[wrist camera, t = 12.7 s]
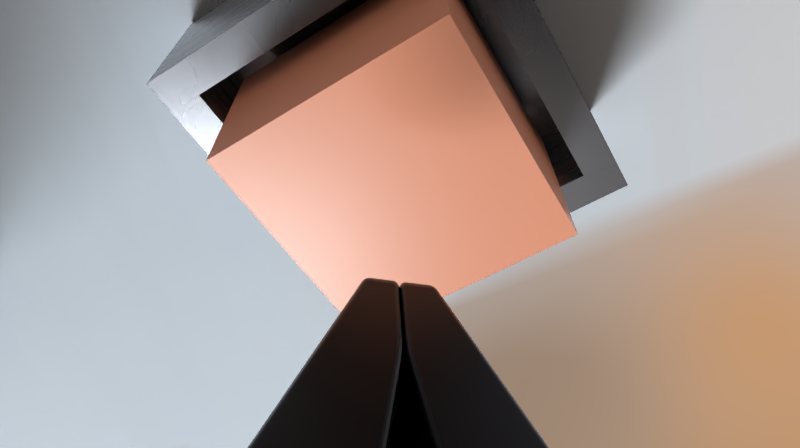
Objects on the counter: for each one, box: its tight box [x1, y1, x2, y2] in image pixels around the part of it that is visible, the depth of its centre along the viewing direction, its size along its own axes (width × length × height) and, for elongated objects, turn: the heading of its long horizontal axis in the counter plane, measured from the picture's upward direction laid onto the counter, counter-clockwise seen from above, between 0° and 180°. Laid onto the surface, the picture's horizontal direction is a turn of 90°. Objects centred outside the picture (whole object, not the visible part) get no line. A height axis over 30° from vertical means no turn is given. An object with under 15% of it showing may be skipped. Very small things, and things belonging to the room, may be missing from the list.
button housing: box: [147, 0, 628, 212], centre depth 13 cm, size 6×6×3 cm
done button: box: [206, 0, 577, 313], centre depth 12 cm, size 4×4×3 cm
